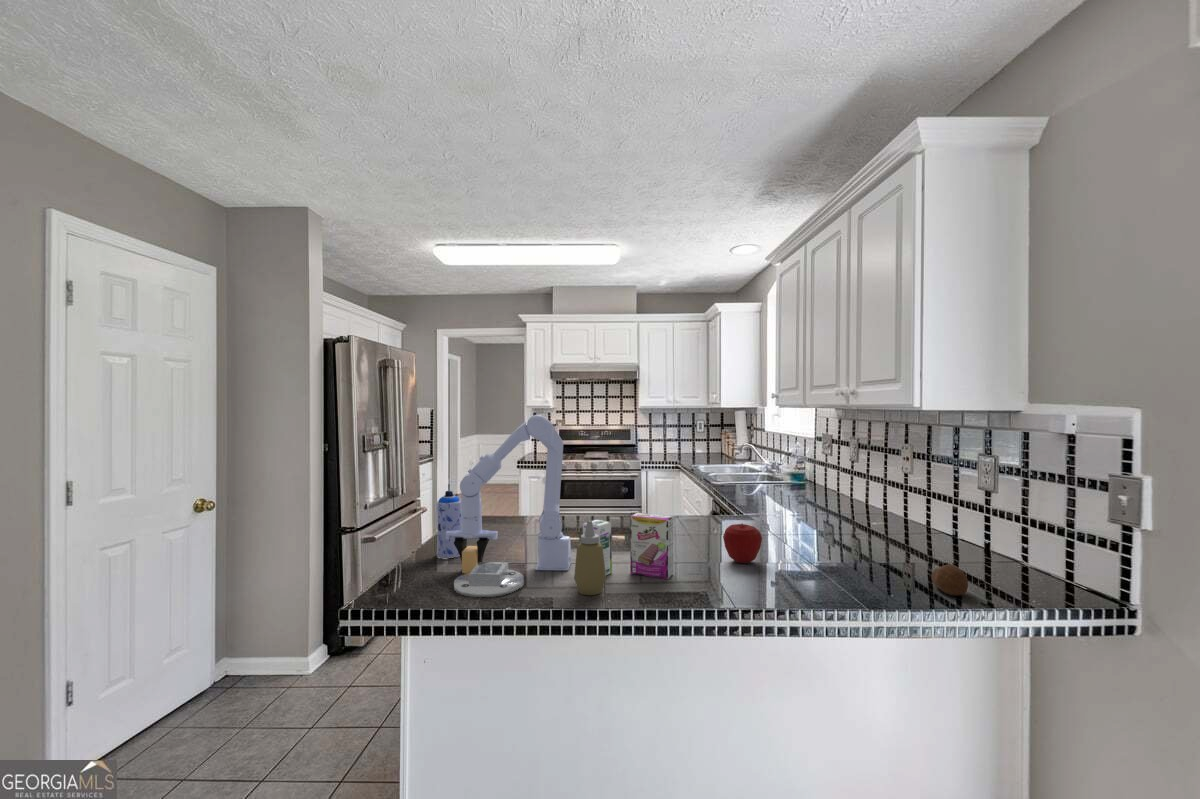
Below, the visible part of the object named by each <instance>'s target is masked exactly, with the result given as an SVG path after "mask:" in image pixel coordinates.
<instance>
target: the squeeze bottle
mask: <svg viewBox="0 0 1200 799" xmlns="http://www.w3.org/2000/svg"><path fill="white" fill-rule="evenodd" d="M592 521H593V520H587V521H586V523H587V526H586V531H585V534H583V533H582V534H581V535H580V543H578V545H576V552H575V554H576V555H575V565H574V566H575V567H574V575H573V576H574V581H575V585H576V588H577V591H578V592H579V594H581V595H584V596H596V595H599V594H601V593H602V591H603V588H604V585H605V583H606V582H605V581H606V578H607V575H606V572H605V563H604V554H603V546H602V545H601V544H600V543H598V542H599V535H597V534H595V532H594V528H593V524H592Z"/></svg>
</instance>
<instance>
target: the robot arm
mask: <svg viewBox="0 0 1200 799" xmlns="http://www.w3.org/2000/svg"><path fill="white" fill-rule="evenodd" d="M531 437H532V438H533V439H535V440H538V441H540V443H541V444H542V445H543V446H544V447H545V448H546V450H547V451H546V465H545V477H544V478H545V479H544V480H545V481H544V494H543V496H544V498H543V506H542V511H541V514H540V516H539V518H538V519H539V520H538V522H539V531H540V532H539V533H537V558H538V559H537V564H536V566H535V568H534V570H535V571H569V568H570V566H571V563H572V556H571V554H572V552H571V550H572V549H571V546H572V545H571V544H572V543H571V536H568V535H564V534H563V532H562V531H563V530H562V529H563V524H562V521H561V516H560V501H561V487H562V486H561V485H562V484H561V483H562V470H563V456H564V455H563V454H564V441H563V439H562V438H561V436H560V435H559V433H558V431H557V430H556V427H555V426H554V425H553V423H552V421H550V420H549V419H548V418H546V416H545V415H543V414H533V415H531V416H530V417H529V419H528V420H527V421H525V422H523V423H521V425H519V426H518V427H517V428H516V429H515V430H514V431H513V432H512V433H510V435H509V436H508V437H507V439H505V441H504V442H503V443H502V444H501V445H500V446H499V447H498V448H497V449H496V450H495V451H494V452H493V453H486V454H485V455H481V456H480V457H479V462H477V463H476V465H474V467H473V468H469V470H468V471H467V473H468V474H466V475H464V476H463V477H462V479H461V480H460V483H459V489H460V490H459V491H460V492H461V494H460V498H461V499H460V500H461V530H457V531H447V532H446V539H455V541H454V545H455V547H456V548H457V550H458V552H459V555H460V557H459V558H460V561H461V563H462V551H463V550H464V549H465V548H466V547H467V546H468V545H467V544H468V543H467V542H468V539H469V540H471V539H473V540H477V541H476V546H477V548H478V563H479V562H484V561H483V560H484V554H485V552H486V549H487V546H488V544H489V541H490V540H494V541H495V540H497V539H498V536H499V535H498V534H499V532H498V530H487V529H483V519H482V518H483V516H482V514H483V512H482V511H483V508H482V499H481V497H482V496H481V490H482V487H483V485H485V484H487V483H489V481H490V480H491V479H492V478H493V477H494V476H495V475H496V474H497V473H498V472H499V470H501V469H502V461H503V460H504V459H505V458H506V457H507V456H508V455H509V454H510V453H511V452H512V451H513V450H514V449H515V448H516V447H517V446H519V444H520V443H521V442H522V443H523V442H525V441H529V440H531Z"/></svg>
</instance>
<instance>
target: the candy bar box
mask: <svg viewBox="0 0 1200 799" xmlns="http://www.w3.org/2000/svg"><path fill="white" fill-rule="evenodd" d="M629 519H630V527H629V528H630V536H629V537H630V540H629V541H630V564H629V565H630V567H629V568H630V570H629V571H630V574H631V575H636V574H637V575H638V576H643V575H644V577H651V578H658V579H665V580H668V579H670V577H672V576H673V575H674V516H671V515H661V514H655V513H654V514H653V513H645V512H635V513H633V514H631V515H630V518H629ZM637 575H636V576H637Z"/></svg>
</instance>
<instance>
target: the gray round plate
mask: <svg viewBox="0 0 1200 799" xmlns="http://www.w3.org/2000/svg"><path fill="white" fill-rule="evenodd" d="M524 580H525V579H524V575H523V574H522V573H521V572H519V571H517V570H513V569H509V562H505V561H504V562H500V561H499V562H497V561H496V562H495V561H493V562H492V561H491V562H490V561H488V562H487V561H485V562H484V561H482V562H479V563H478V564H477V565H476V566H475V567H474V569H473V570H472V571H471V572H468V573H462V574H461V575H459V576H457V577H456V578H455V579H454V581H453V590H454V591H456V593H457V594H458V593H459V594H458V595H460V594H461V595H460V596H463V595H464V596H463V597H467V596H469V597H468V598H475V597H487V598H497V597H501V596H505V595H506V594H507V595H509V593H510V594H513V593H515V592H517V591H518V589H519V588H520V589H521V588H523V586H524V584H525V581H524ZM520 589H519V590H520ZM516 590H517V591H516ZM514 591H515V592H514ZM512 592H513V593H512ZM496 596H497V597H496Z"/></svg>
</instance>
